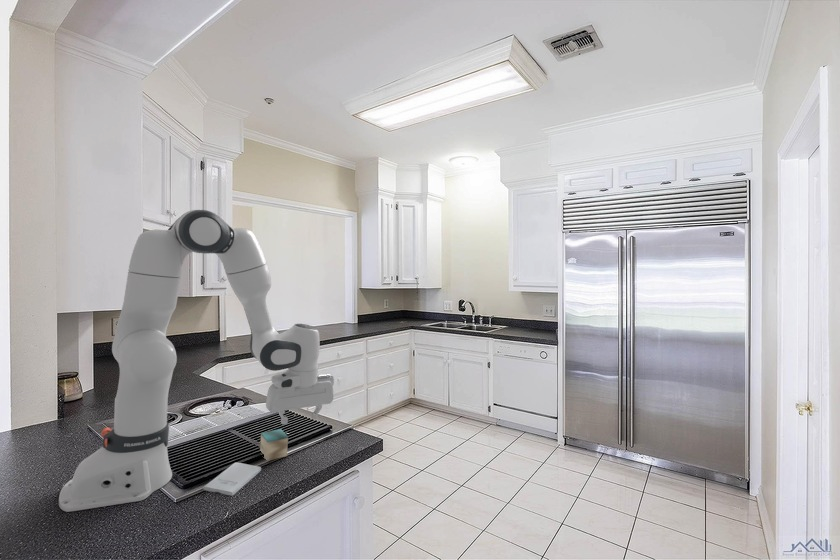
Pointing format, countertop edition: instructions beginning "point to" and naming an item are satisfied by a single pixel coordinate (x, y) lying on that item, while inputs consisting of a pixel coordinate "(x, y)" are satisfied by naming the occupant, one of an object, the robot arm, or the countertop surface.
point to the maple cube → (274, 444)
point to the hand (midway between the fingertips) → (299, 420)
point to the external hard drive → (232, 478)
